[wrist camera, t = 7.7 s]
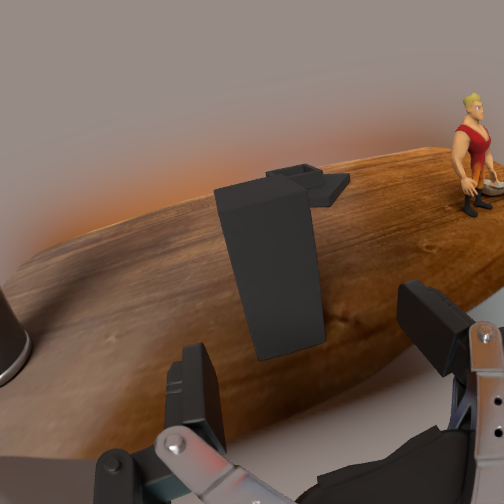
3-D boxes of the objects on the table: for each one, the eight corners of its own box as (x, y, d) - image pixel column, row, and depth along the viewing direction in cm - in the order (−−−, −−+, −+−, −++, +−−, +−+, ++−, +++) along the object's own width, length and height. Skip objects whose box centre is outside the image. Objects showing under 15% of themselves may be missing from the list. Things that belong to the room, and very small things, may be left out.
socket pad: (330, 206, 42) (326, 179, 40) (235, 208, 50) (230, 185, 48) (350, 181, 52) (347, 159, 50) (272, 184, 60) (268, 165, 59)
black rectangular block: (326, 342, 19) (307, 189, 15) (258, 362, 18) (217, 211, 14) (302, 300, 23) (281, 173, 19) (246, 316, 23) (213, 189, 19)
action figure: (470, 223, 28) (464, 90, 22) (447, 215, 31) (440, 90, 25) (502, 206, 30) (499, 95, 24) (482, 199, 33) (477, 93, 27)
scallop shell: (513, 203, 34) (475, 182, 40) (518, 186, 32) (480, 165, 38) (502, 208, 30) (459, 184, 36) (509, 188, 29) (464, 165, 34)
